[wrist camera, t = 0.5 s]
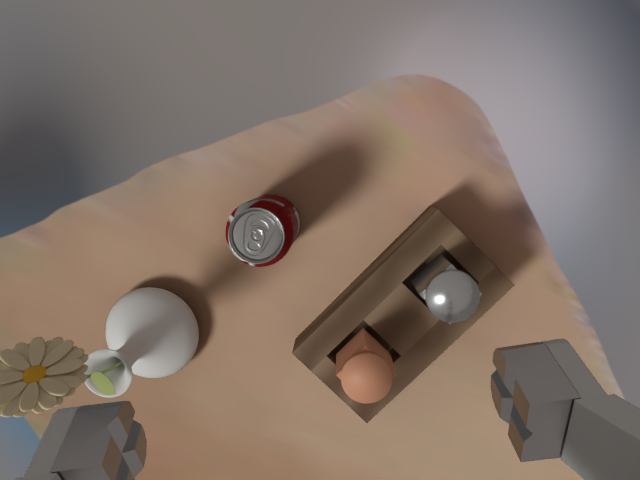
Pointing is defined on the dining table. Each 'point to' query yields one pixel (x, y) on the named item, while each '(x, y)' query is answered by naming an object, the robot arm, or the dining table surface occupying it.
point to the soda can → (262, 230)
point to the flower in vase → (101, 354)
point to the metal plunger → (447, 291)
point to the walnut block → (399, 307)
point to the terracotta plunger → (365, 368)
